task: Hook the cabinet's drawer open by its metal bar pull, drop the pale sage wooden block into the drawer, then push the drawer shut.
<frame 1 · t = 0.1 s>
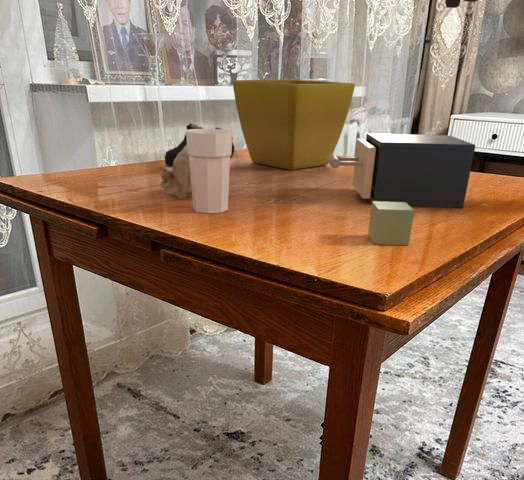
hand: (460, 4, 80), 28 cm above the table, tool pointing down, fingers open, 8 cm apart
cup: (210, 210, 82), on the table
beige rough lump: (179, 195, 90), on the table
drawer: (384, 168, 90), point 5 cm above the table, slide at 0.5 cm
game controller: (201, 169, 113), on the table
block: (387, 240, 70), on the table
cabinet: (408, 198, 93), on the table
flower pot: (289, 165, 122), on the table
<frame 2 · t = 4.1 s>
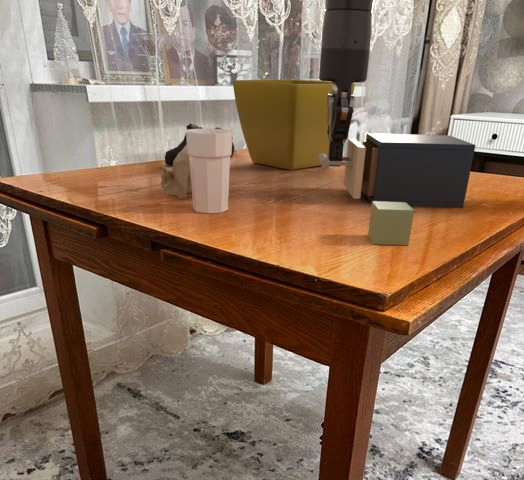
hand: (334, 165, 90), 5 cm above the table, tool pointing down, fingers closed
drawer: (374, 168, 90), point 5 cm above the table, slide at 2.1 cm, touching gripper
everything else where it was.
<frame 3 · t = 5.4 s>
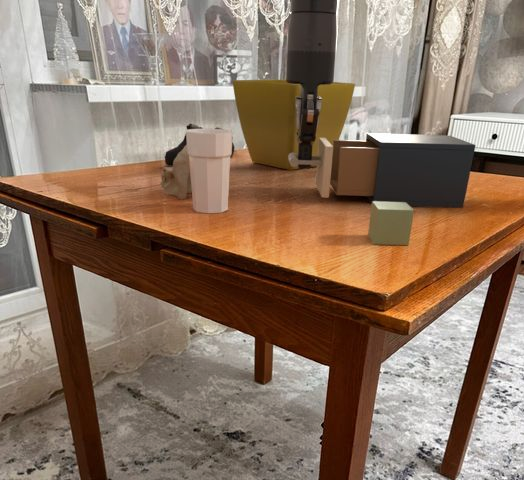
hand: (304, 167, 90), 5 cm above the table, tool pointing down, fingers closed
drawer: (344, 167, 90), point 5 cm above the table, slide at 7.1 cm
everything else where it was.
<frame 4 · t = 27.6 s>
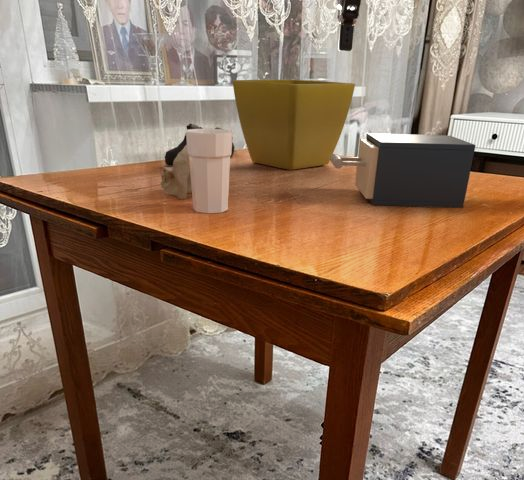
hand: (344, 50, 90), 22 cm above the table, tool pointing down, fingers closed
drawer: (387, 168, 90), point 5 cm above the table, slide at 0.0 cm, touching block, cabinet
block: (389, 185, 92), point 2 cm above the table, touching drawer
everything else where it was.
at the end: drawer pulled out 7.2 cm at the most during the clip, back to where it started at the end; block inside the target area in the cabinet (3.6 cm from its centre), point 2.0 cm above the cabinet's base; drawer slide at 0.0 cm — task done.
